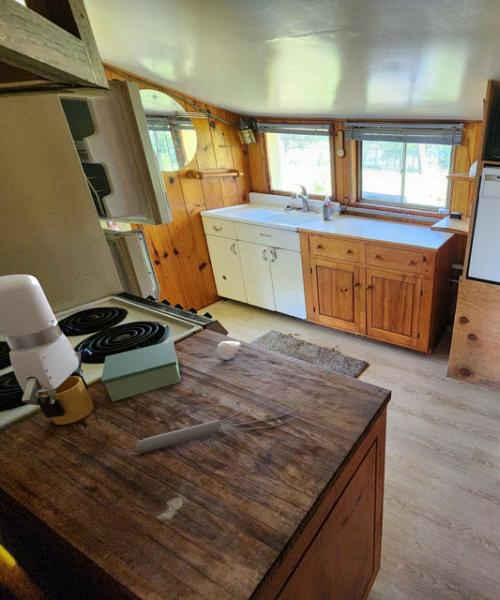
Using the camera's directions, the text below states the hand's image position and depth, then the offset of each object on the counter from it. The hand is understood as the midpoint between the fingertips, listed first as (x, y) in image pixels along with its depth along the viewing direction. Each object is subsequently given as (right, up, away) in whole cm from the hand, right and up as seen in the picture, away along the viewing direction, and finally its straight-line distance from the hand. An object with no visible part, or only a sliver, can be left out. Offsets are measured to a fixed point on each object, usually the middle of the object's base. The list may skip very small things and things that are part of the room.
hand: (68, 402), depth 73 cm
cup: (0, -3, +1) cm, 3 cm away
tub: (+8, +2, +13) cm, 15 cm away
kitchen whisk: (+36, -7, -2) cm, 37 cm away
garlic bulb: (+24, +6, +25) cm, 35 cm away
